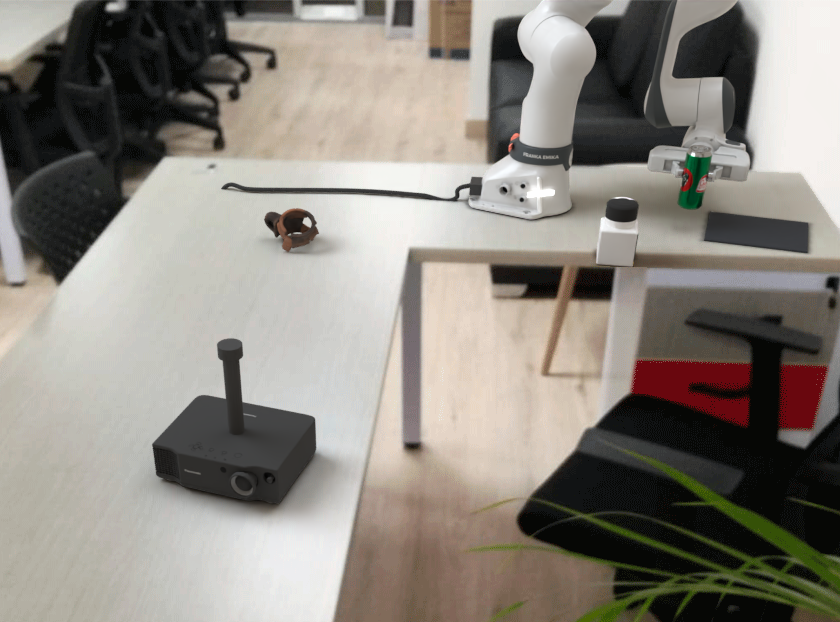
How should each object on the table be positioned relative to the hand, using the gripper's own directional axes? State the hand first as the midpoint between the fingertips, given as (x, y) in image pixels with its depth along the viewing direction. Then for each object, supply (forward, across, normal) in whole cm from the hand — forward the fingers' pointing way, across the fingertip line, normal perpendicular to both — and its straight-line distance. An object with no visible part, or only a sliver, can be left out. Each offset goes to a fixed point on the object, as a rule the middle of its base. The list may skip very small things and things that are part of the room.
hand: (695, 176), depth 218 cm
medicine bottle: (+19, -12, +12) cm, 25 cm away
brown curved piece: (+32, -76, +12) cm, 83 cm away
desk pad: (-4, +14, +12) cm, 19 cm away
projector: (+111, -53, +12) cm, 124 cm away
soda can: (-1, 0, +7) cm, 7 cm away
